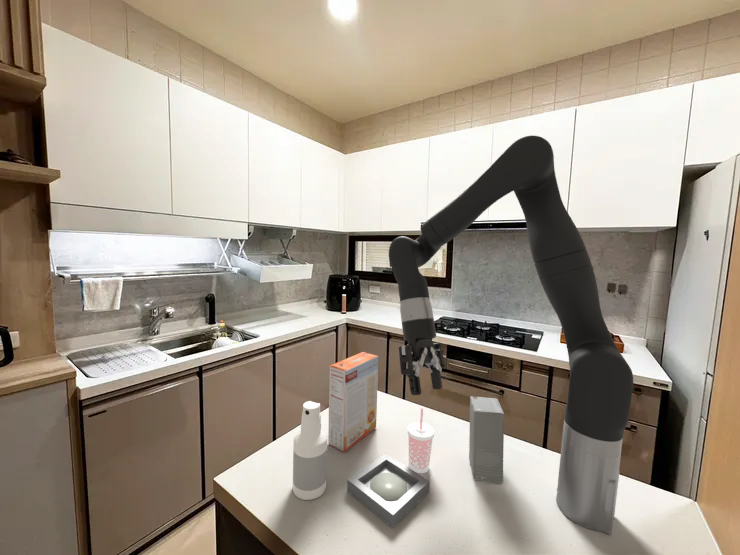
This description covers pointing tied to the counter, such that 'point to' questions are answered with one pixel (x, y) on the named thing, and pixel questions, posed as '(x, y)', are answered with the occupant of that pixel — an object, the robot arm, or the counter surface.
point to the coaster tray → (388, 488)
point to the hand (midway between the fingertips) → (427, 391)
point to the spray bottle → (310, 455)
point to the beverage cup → (420, 445)
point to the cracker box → (352, 399)
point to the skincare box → (486, 439)
